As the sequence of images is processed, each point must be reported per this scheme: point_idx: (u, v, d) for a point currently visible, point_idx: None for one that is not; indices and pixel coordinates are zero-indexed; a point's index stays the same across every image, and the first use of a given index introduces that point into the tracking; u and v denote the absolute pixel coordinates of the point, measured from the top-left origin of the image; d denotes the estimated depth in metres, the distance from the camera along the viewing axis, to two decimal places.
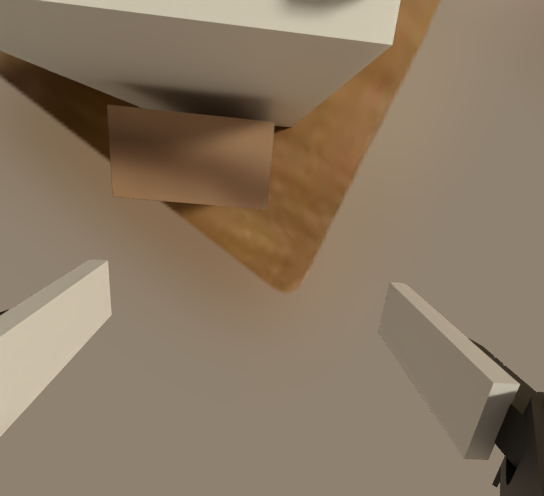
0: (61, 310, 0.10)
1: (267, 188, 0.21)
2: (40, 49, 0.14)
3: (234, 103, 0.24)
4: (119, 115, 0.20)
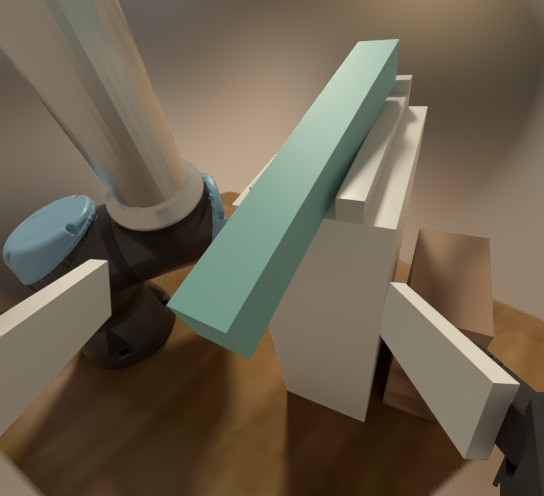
0: (61, 311, 0.10)
1: (470, 236, 0.29)
2: None
3: (394, 275, 0.32)
4: None
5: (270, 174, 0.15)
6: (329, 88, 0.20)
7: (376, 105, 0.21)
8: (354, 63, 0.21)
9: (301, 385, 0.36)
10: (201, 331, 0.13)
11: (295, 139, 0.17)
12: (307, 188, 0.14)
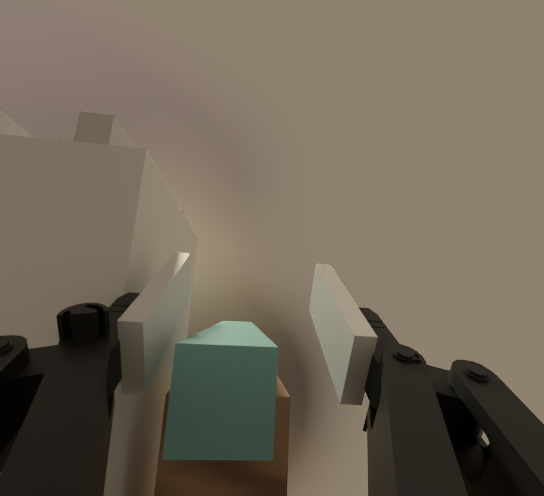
0: (171, 293, 0.12)
1: None
2: (146, 278, 0.15)
3: None
4: None
5: (216, 328, 0.17)
6: (222, 323, 0.25)
7: None
8: None
9: None
10: (200, 412, 0.08)
11: (219, 326, 0.20)
12: (257, 331, 0.16)
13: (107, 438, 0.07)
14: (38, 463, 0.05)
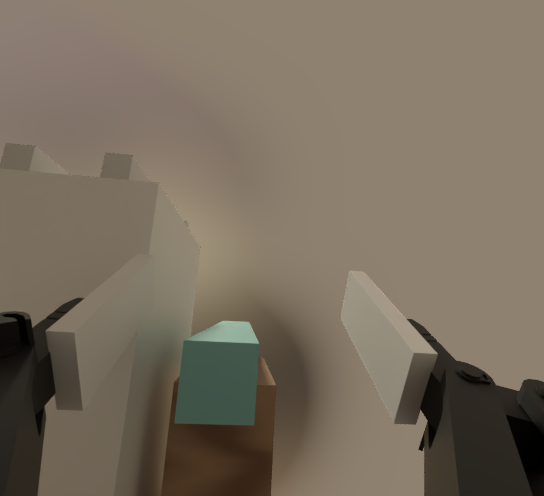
0: (124, 298, 0.11)
1: None
2: (158, 287, 0.18)
3: (169, 416, 0.24)
4: None
5: (215, 328, 0.20)
6: (222, 323, 0.28)
7: None
8: (229, 322, 0.32)
9: None
10: (201, 390, 0.11)
11: (219, 326, 0.23)
12: None
13: (37, 455, 0.07)
14: None
